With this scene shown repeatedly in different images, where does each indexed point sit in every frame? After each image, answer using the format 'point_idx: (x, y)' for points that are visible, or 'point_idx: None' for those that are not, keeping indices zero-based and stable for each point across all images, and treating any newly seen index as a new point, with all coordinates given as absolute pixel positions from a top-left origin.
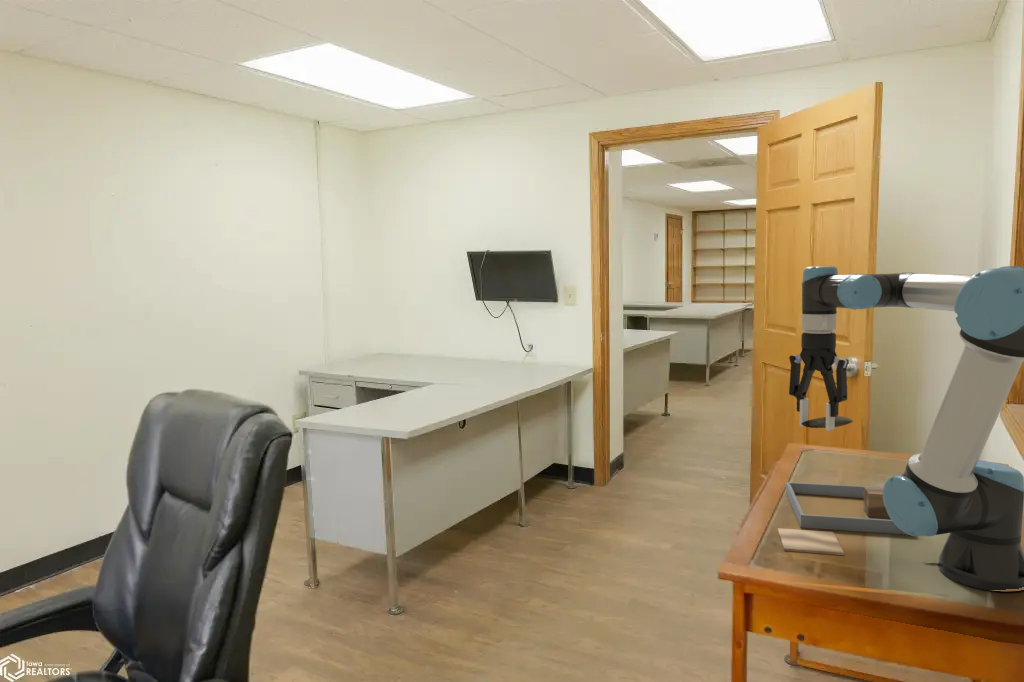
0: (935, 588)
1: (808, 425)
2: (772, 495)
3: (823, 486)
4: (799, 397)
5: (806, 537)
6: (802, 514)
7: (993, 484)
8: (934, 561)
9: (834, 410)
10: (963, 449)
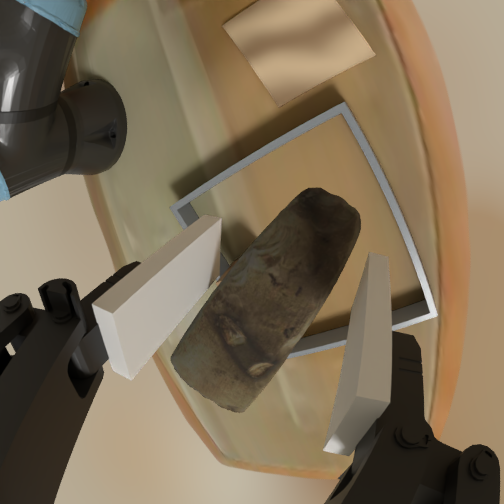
0: (109, 32)
1: (302, 193)
2: (455, 271)
3: None
4: (394, 426)
5: (305, 43)
6: (343, 107)
7: None
8: (130, 112)
9: (107, 283)
10: None
